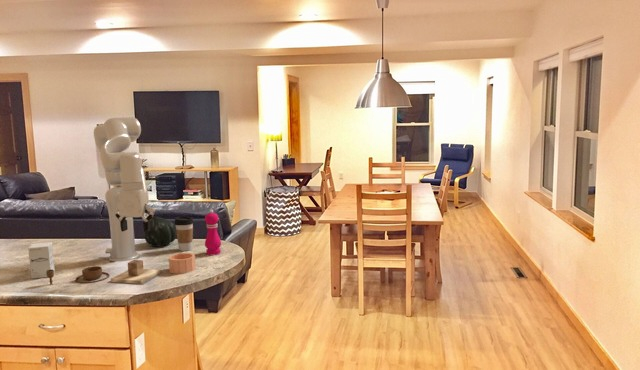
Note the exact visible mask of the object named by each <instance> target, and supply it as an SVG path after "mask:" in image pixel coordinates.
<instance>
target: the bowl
mask: <svg viewBox="0 0 640 370" xmlns="http://www.w3.org/2000/svg"><path fill="white" fill-rule="evenodd" d="M168 268H169V269H168V270H169V273H172V274H177V275H180V274H188V273H191V272H194V271H196V256H195V254H194V253H191V252H182V253H175V254H172V255H170V256H168Z"/></svg>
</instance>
